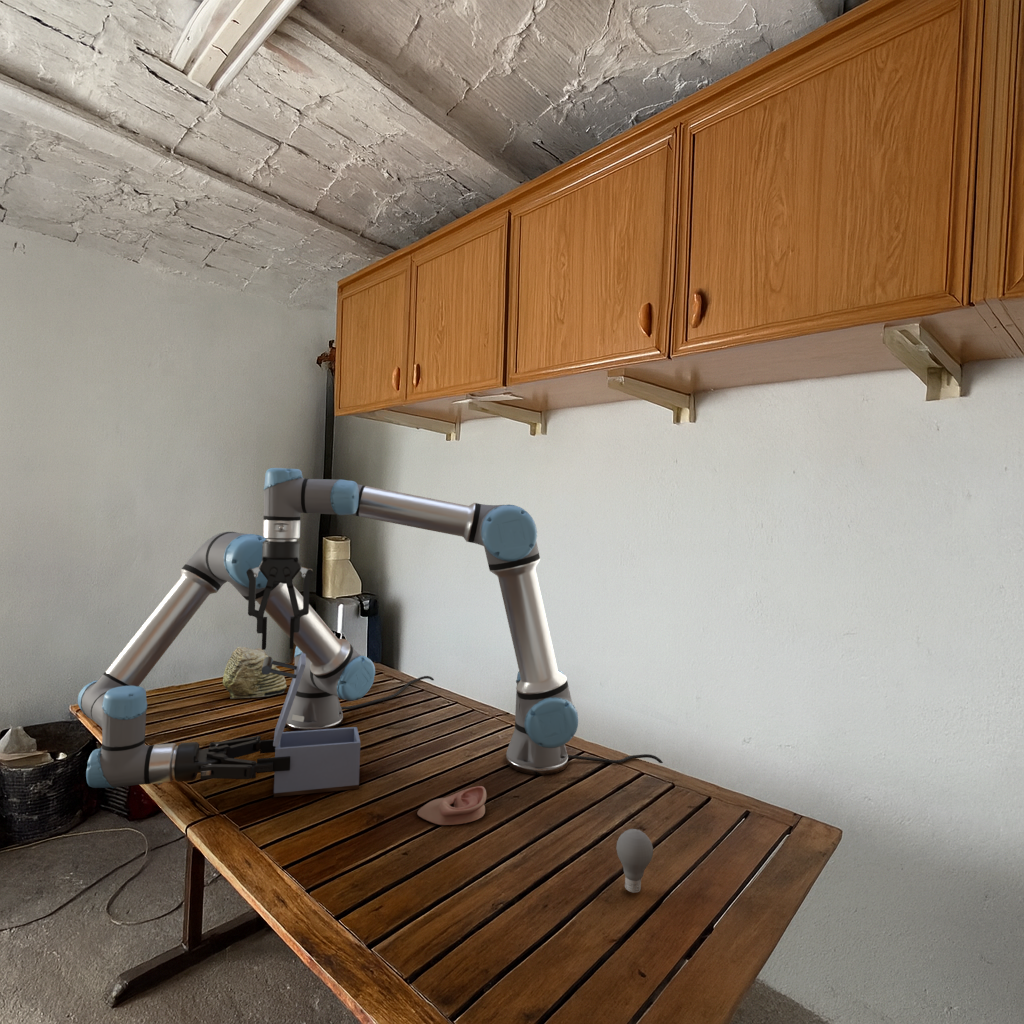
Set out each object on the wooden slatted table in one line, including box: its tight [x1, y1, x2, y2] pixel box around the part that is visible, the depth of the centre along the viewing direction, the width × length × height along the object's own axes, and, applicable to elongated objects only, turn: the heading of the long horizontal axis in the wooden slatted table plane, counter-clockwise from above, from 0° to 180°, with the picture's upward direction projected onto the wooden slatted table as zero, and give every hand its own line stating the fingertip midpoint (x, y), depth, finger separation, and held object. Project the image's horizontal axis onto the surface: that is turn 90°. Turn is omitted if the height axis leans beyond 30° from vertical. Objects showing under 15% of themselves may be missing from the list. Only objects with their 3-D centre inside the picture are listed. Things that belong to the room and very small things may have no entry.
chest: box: [273, 726, 361, 798], centre depth 140 cm, size 17×10×10 cm, turn 108°
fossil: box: [222, 646, 288, 699], centre depth 198 cm, size 9×18×15 cm, turn 132°
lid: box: [261, 653, 306, 747], centre depth 137 cm, size 18×10×8 cm
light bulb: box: [615, 828, 654, 894], centre depth 106 cm, size 6×6×10 cm
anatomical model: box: [416, 785, 488, 826], centre depth 129 cm, size 13×4×12 cm
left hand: (290, 753), depth 138 cm, fingers closed on chest, 10 cm apart
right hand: (277, 647), depth 137 cm, fingers open, 5 cm apart
